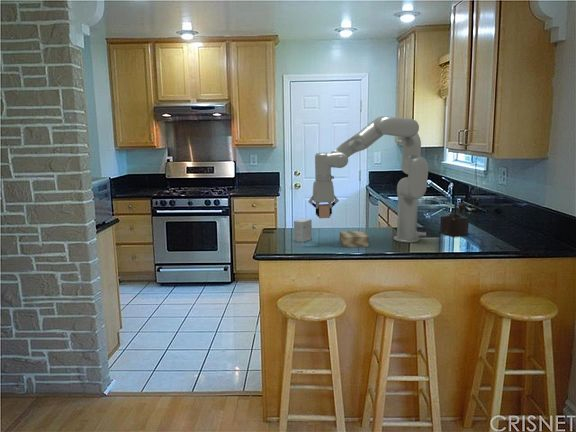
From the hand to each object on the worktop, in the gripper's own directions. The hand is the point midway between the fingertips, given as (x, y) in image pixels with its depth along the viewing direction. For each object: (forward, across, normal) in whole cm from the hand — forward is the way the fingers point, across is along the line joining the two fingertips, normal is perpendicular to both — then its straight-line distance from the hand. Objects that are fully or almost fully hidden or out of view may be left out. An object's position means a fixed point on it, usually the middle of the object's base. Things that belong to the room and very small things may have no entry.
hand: (323, 215), depth 224 cm
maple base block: (+15, -14, +1) cm, 21 cm away
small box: (+14, +10, -10) cm, 20 cm away
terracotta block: (+1, 0, 0) cm, 1 cm away
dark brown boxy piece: (+16, -71, -11) cm, 74 cm away
